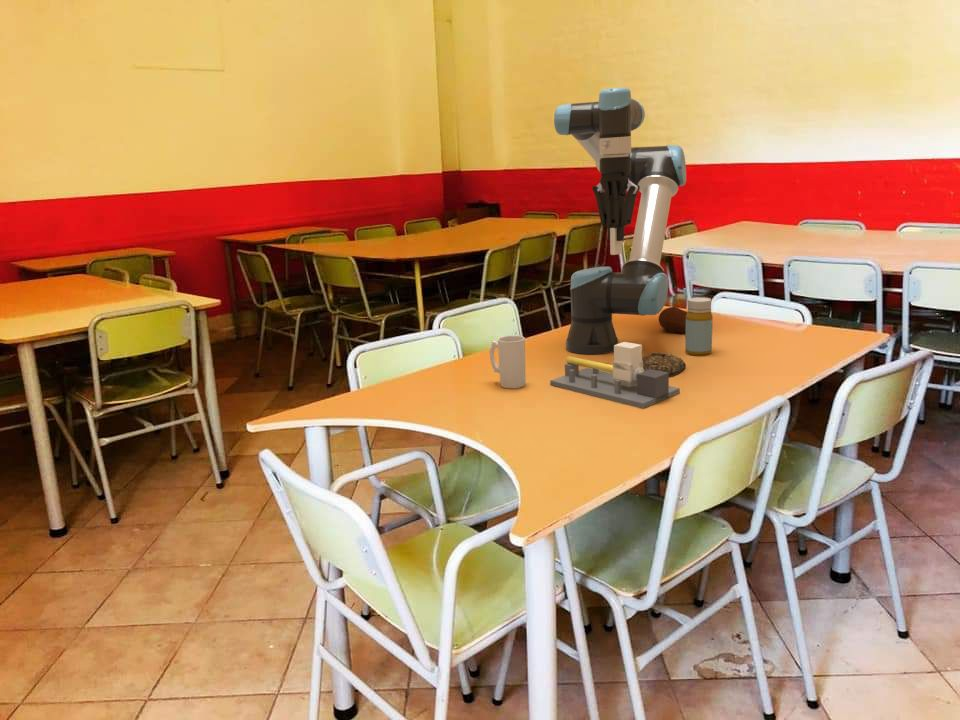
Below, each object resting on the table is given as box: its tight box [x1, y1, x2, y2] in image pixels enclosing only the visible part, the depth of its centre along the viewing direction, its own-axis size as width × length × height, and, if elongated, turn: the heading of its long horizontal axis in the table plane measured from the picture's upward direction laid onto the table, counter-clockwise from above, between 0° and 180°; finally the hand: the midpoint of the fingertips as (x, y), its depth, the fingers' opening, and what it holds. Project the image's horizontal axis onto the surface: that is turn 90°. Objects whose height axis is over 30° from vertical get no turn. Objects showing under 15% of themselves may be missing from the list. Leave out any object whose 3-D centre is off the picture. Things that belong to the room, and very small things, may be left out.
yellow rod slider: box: [549, 355, 681, 410], centre depth 179 cm, size 28×14×7 cm, turn 42°
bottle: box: [684, 297, 714, 357], centre depth 204 cm, size 7×7×15 cm
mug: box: [489, 335, 527, 390], centre depth 186 cm, size 10×7×12 cm, turn 54°
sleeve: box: [612, 341, 643, 387], centre depth 174 cm, size 5×5×9 cm
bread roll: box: [642, 351, 687, 377], centre depth 192 cm, size 13×12×5 cm
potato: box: [658, 306, 688, 334], centre depth 230 cm, size 8×12×8 cm, turn 50°
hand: (616, 253), depth 186 cm, fingers closed
